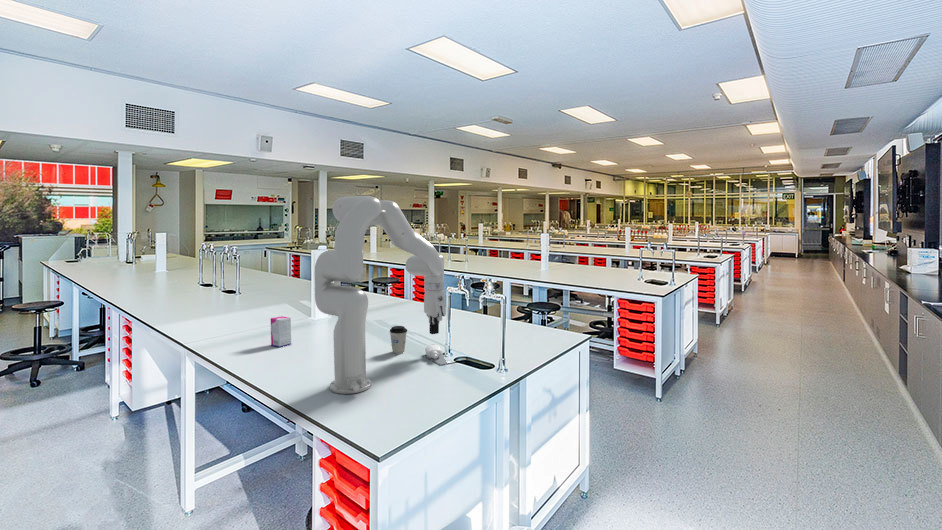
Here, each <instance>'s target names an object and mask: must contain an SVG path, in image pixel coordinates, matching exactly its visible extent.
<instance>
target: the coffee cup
mask: <svg viewBox="0 0 942 530" xmlns="http://www.w3.org/2000/svg"><path fill="white" fill-rule="evenodd" d="M407 332H408V328H405V326H403V325H394V326H391V329H390V330H389V334H390V340H391V349H392V354H394V353H397V354H396V355H399V354H398V353H402V354H404V353H405V351H406V342H407ZM403 352H404V353H403Z"/></svg>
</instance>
